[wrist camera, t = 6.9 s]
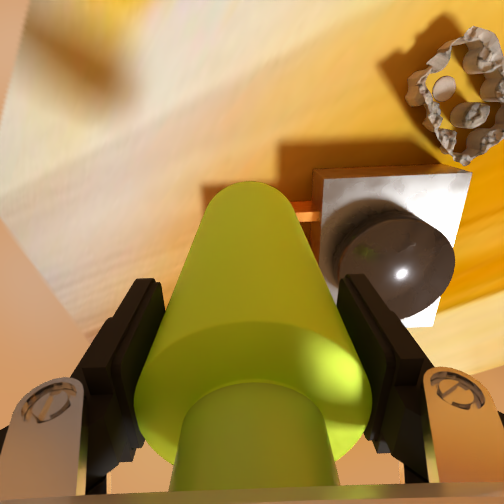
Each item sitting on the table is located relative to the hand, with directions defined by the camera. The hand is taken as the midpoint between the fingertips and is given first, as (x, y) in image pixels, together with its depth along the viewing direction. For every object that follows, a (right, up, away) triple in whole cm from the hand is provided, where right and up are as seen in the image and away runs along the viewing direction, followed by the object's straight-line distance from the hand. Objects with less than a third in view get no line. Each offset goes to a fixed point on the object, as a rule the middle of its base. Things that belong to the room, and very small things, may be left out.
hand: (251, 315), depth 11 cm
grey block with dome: (+9, +3, +27) cm, 29 cm away
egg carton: (+20, +17, +21) cm, 34 cm away
